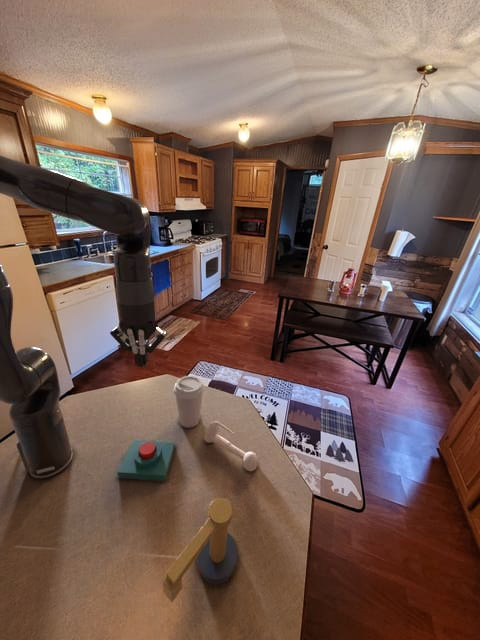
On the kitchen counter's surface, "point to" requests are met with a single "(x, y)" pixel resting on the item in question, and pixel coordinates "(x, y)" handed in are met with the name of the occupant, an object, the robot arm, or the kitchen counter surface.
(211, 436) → the faucet
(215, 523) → the spout
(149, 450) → the button
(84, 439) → the kitchen counter surface
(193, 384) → the coffee cup
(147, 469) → the control block
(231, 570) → the tap base
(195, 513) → the kitchen counter surface
